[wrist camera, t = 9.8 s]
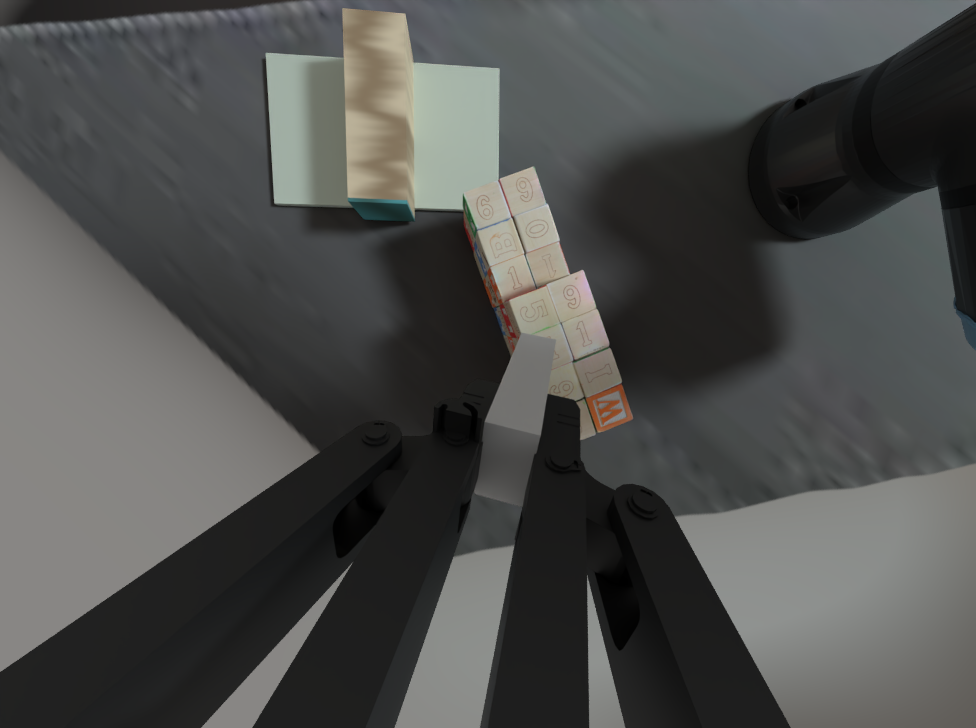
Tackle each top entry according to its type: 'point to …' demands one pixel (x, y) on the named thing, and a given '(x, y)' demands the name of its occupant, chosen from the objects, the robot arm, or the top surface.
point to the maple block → (379, 114)
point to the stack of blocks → (544, 295)
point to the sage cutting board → (437, 131)
